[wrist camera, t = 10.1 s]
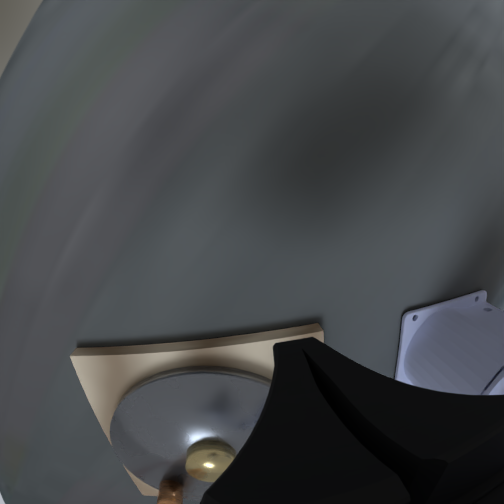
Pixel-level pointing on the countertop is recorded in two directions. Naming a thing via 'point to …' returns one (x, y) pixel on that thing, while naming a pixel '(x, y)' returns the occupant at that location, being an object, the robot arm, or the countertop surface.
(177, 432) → the handwheel
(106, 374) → the wheel base
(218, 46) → the countertop surface
